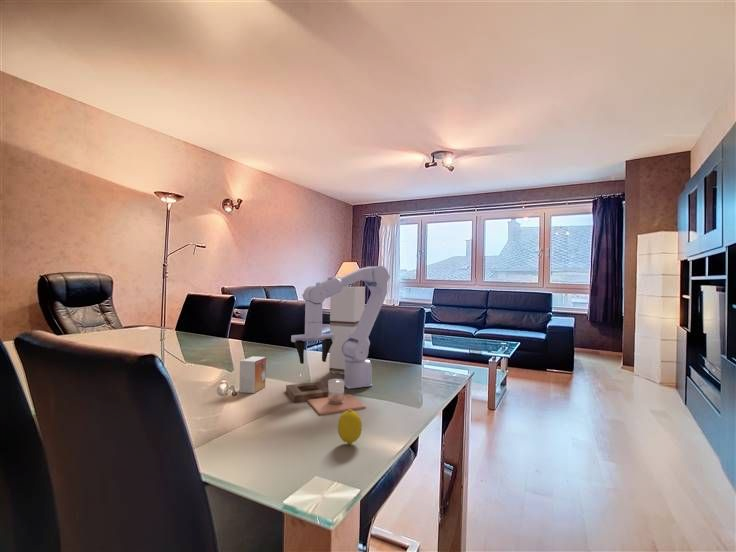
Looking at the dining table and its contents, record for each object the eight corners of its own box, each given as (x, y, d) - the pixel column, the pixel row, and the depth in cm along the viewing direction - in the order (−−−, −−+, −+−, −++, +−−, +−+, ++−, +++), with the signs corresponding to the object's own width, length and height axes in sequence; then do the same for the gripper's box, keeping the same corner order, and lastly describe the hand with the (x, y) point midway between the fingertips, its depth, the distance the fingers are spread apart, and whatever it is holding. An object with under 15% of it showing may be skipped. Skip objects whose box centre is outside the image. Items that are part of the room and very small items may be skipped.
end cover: (339, 398, 113) (339, 377, 113) (346, 403, 109) (346, 381, 109) (325, 401, 111) (325, 380, 111) (332, 406, 107) (332, 384, 107)
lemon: (337, 439, 86) (337, 405, 86) (360, 438, 86) (361, 405, 86) (337, 450, 80) (337, 414, 80) (362, 449, 81) (362, 413, 81)
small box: (254, 393, 119) (254, 361, 119) (238, 392, 120) (239, 360, 120) (266, 386, 127) (266, 356, 127) (251, 385, 128) (251, 355, 128)
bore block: (320, 387, 127) (320, 381, 127) (331, 397, 116) (331, 391, 116) (286, 391, 122) (286, 385, 122) (294, 402, 111) (294, 395, 111)
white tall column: (353, 375, 143) (354, 286, 144) (329, 372, 147) (330, 286, 148) (363, 369, 154) (365, 286, 155) (341, 366, 158) (342, 286, 158)
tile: (350, 396, 118) (350, 394, 118) (365, 408, 107) (365, 406, 107) (308, 401, 112) (308, 399, 112) (319, 414, 101) (319, 412, 101)
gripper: (295, 323, 115) (294, 366, 115) (338, 322, 122) (337, 362, 121) (290, 321, 122) (289, 362, 122) (331, 320, 128) (330, 358, 128)
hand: (312, 362), depth 122 cm, fingers open, 7 cm apart
